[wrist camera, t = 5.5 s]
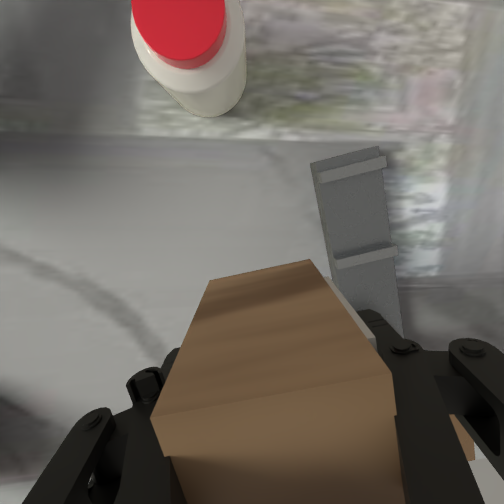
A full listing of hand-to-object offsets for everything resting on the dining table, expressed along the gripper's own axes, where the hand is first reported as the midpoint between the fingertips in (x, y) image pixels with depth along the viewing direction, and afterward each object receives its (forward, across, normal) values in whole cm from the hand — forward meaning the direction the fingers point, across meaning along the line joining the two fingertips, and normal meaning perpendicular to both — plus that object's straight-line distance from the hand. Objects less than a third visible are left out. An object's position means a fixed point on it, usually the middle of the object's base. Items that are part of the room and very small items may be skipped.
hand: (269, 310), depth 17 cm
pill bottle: (+15, -2, +18) cm, 24 cm away
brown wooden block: (0, 0, 0) cm, 0 cm away
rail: (+15, +10, -7) cm, 20 cm away
